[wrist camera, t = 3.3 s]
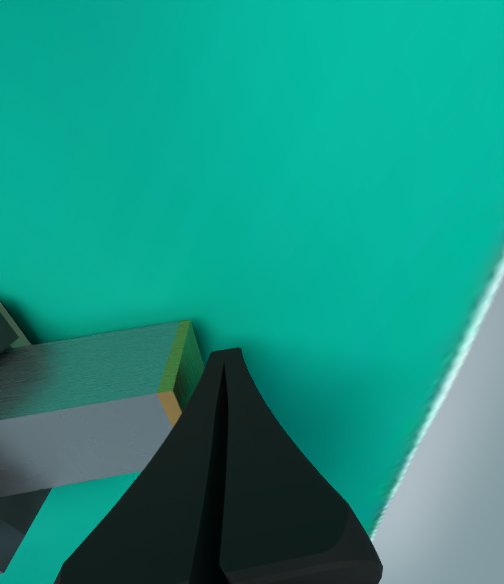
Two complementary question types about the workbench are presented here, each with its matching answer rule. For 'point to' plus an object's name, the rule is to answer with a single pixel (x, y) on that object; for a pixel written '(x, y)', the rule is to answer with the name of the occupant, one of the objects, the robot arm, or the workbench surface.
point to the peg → (92, 404)
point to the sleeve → (25, 506)
